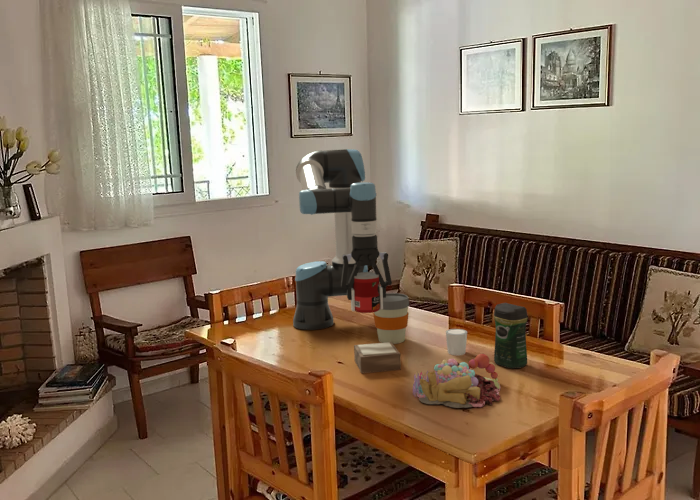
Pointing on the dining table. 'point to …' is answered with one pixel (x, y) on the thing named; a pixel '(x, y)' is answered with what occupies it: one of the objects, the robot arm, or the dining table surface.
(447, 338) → the shot glass
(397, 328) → the reusable coffee cup
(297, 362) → the dining table surface
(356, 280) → the canned food
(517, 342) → the coffee jar
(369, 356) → the base
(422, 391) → the candy landscape model
